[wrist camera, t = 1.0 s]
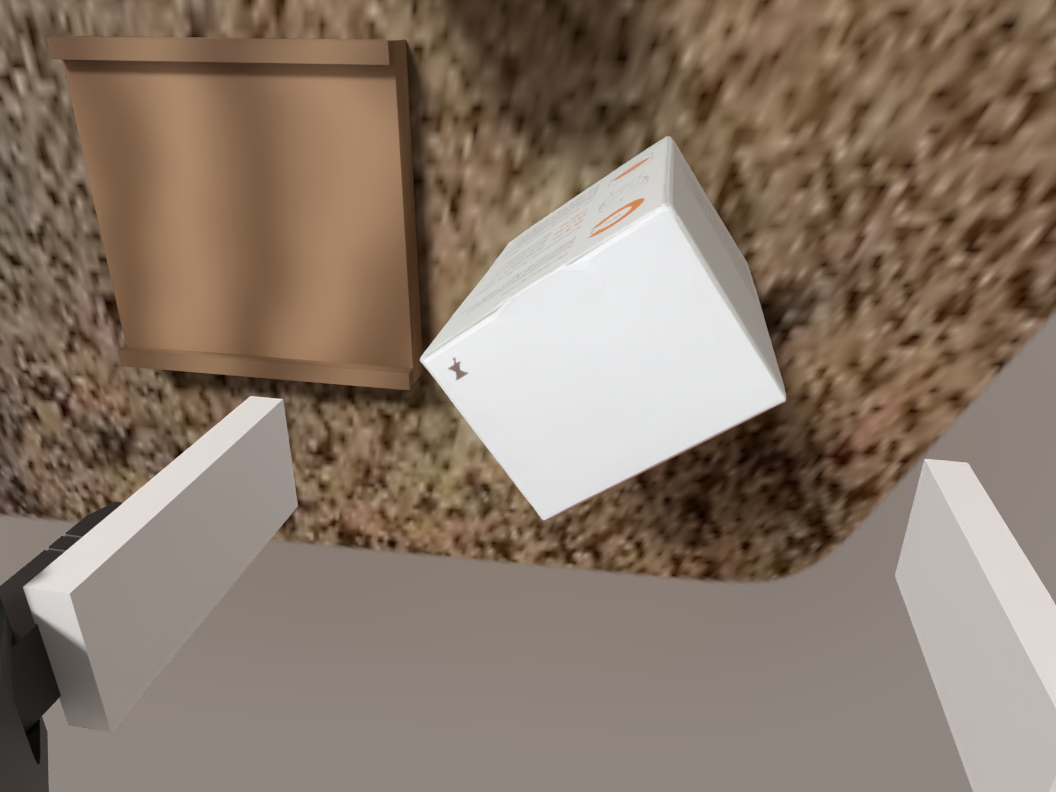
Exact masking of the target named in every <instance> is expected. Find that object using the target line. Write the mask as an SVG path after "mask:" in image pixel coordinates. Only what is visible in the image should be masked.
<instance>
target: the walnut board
mask: <svg viewBox="0 0 1056 792" xmlns="http://www.w3.org/2000/svg"><path fill="white" fill-rule="evenodd" d="M46 39H47V43H48V48H49V52H50V56H51V59H61V60H62V62H63V66H64V71H65V75H66V80H67V84H68V88H69V93H70V97H71V102H72V106H73V111H74V115H75V120H76V124H77V129H78V133H79V137H80V142H81V146H82V151H83V155H84V160H85V164H86V169H87V173H88V178H89V182H90V186H91V191H92V195H93V200H94V204H95V209H96V213H97V218H98V222H99V227H100V231H101V235H102V240H103V244H104V249H105V253H106V258H107V262H108V267H109V271H110V276H111V280H112V284H113V289H114V293H115V298H116V302H117V307H118V311H119V316H120V320H121V325H122V329H123V333H124V338H125V342H126V346H125V347H123V348H121V349H119V350H118V352H119V357H120V361H121V365H122V366H126V367H138V368H150V369H161V370H173V371H185V372H197V373H209V374H221V375H233V376H245V377H257V378H269V379H281V380H292V381H304V382H316V383H328V384H340V385H352V386H364V387H376V388H388V389H400V390H410V389H411V388H412V387H413V385H414V384H415V383H416V381H417V380H418V379H419V377H420V376H421V375H422V373H423V372H424V366H423V364H422V363H421V362H420V358H421V356H422V355H423V347H422V329H421V310H420V291H419V273H418V254H417V235H416V217H415V198H414V180H413V161H412V142H411V124H410V105H409V86H408V68H407V49H406V40H356V39H269V38H182V37H94V36H76V37H46Z"/></svg>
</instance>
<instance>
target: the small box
mask: <svg viewBox="0 0 1056 792" xmlns="http://www.w3.org/2000/svg"><path fill="white" fill-rule="evenodd" d="M420 362H421V363H422V364H423V365H424V367H425V368H426V369H427V370H428V371H429V373H430V374H431V375H432V376H433V378H434V379H435V380H436V381H437V383H438V384H439V385H440V386H441V388H442V389H443V390H444V392H445V393H446V394H447V396H448V397H449V398H450V400H451V401H452V402H453V404H454V405H455V406H456V408H457V409H458V410H459V412H460V413H461V414H462V416H463V417H464V418H465V420H466V421H467V422H468V423H469V425H470V426H471V427H472V429H473V430H474V431H475V433H476V434H477V435H478V437H479V438H480V439H481V441H482V442H483V443H484V444H485V446H486V447H487V448H488V450H489V451H490V452H491V453H492V455H493V456H494V457H495V459H496V460H497V461H498V463H499V464H500V465H501V466H502V468H503V469H504V470H505V471H506V473H507V474H508V475H509V477H510V478H511V479H512V481H513V482H514V483H515V485H516V486H517V487H518V489H519V490H520V491H521V493H522V494H523V495H524V496H525V498H526V499H527V500H528V501H529V503H530V504H531V505H532V506H533V508H534V509H535V510H536V512H537V513H538V515H539V516H540V517H541V519H542V520H544V521H546V520H550V519H552V518H554V517H556V516H558V515H560V514H562V513H564V512H566V511H568V510H570V509H572V508H574V507H576V506H578V505H580V504H581V503H583V502H585V501H587V500H589V499H591V498H594V497H596V496H598V495H600V494H602V493H604V492H606V491H608V490H610V489H612V488H614V487H616V486H618V485H620V484H622V483H624V482H626V481H628V480H630V479H632V478H634V477H636V476H638V475H639V474H641V473H643V472H645V471H647V470H650V469H652V468H654V467H656V466H658V465H660V464H662V463H664V462H666V461H668V460H670V459H672V458H674V457H676V456H678V455H680V454H682V453H684V452H686V451H688V450H690V449H692V448H694V447H696V446H698V445H700V444H702V443H704V442H706V441H708V440H710V439H712V438H714V437H716V436H718V435H720V434H722V433H724V432H726V431H728V430H730V429H732V428H734V427H736V426H738V425H740V424H742V423H744V422H746V421H748V420H750V419H752V418H754V417H756V416H758V415H760V414H762V413H764V412H766V411H768V410H770V409H772V408H774V407H776V406H778V405H780V404H783V403H785V402H786V392H785V388H784V384H783V380H782V377H781V374H780V370H779V367H778V364H777V360H776V357H775V353H774V350H773V347H772V343H771V339H770V336H769V333H768V330H767V326H766V323H765V319H764V315H763V312H762V309H761V305H760V302H759V298H758V295H757V291H756V288H755V285H754V282H753V279H752V276H751V272H750V269H749V266H748V264H747V262H746V260H745V258H744V257H743V255H742V253H741V252H740V250H739V248H738V247H737V245H736V243H735V242H734V240H733V238H732V237H731V235H730V233H729V232H728V230H727V228H726V227H725V225H724V223H723V222H722V220H721V218H720V217H719V215H718V213H717V212H716V210H715V208H714V207H713V205H712V203H711V202H710V200H709V198H708V197H707V195H706V193H705V192H704V190H703V188H702V187H701V185H700V183H699V182H698V180H697V178H696V177H695V175H694V173H693V172H692V170H691V168H690V167H689V165H688V163H687V162H686V160H685V158H684V156H683V155H682V153H681V151H680V150H679V148H678V146H677V145H676V143H675V141H674V140H673V139H672V138H671V137H670V136H666V137H665V138H663V139H661V140H660V141H658V142H657V143H655V144H654V145H652V146H651V147H649V148H648V149H646V150H644V151H643V152H641V153H640V154H638V155H637V156H635V157H634V158H632V159H631V160H629V161H628V162H626V163H625V164H623V165H622V166H620V167H619V168H617V169H616V170H614V171H613V172H611V173H610V174H608V175H607V176H605V177H604V178H602V179H601V180H599V181H598V182H597V183H595V184H594V185H592V186H591V187H589V188H588V189H586V190H585V191H583V192H582V193H580V194H579V195H577V196H576V197H574V198H573V199H571V200H570V201H568V202H567V203H566V204H564V205H563V206H561V207H560V208H558V209H557V210H555V211H554V212H552V213H551V214H549V215H548V216H546V217H545V218H543V219H542V220H540V221H539V222H537V223H536V224H535V225H533V226H532V227H530V228H529V229H527V230H526V231H524V232H523V233H522V234H520V235H519V236H518V237H516V238H515V239H513V240H512V241H511V242H509V243H508V244H507V246H506V248H505V249H504V250H503V251H502V253H501V254H500V255H499V257H498V258H497V259H496V261H495V262H494V264H493V265H492V266H491V268H490V269H489V271H488V272H487V273H486V274H485V276H484V277H483V278H482V280H481V281H480V282H479V283H478V285H477V286H476V287H475V288H474V290H473V291H472V292H471V293H470V294H469V296H468V297H467V298H466V299H465V300H464V302H463V303H462V304H461V306H460V307H459V308H458V309H457V311H456V312H455V313H454V314H453V316H452V317H451V318H450V320H449V321H448V322H447V324H446V325H445V326H444V327H443V329H442V330H441V331H440V333H439V334H438V335H437V336H436V338H435V339H434V340H433V342H432V343H431V344H430V346H429V347H428V348H427V349H426V351H425V352H424V353H423V355H422V356H421V358H420Z"/></svg>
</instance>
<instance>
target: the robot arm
mask: <svg viewBox="0 0 1056 792" xmlns="http://www.w3.org/2000/svg"><path fill="white" fill-rule="evenodd" d="M297 506H298V504H297V497H296V490H295V482H294V475H293V468H292V461H291V453H290V446H289V439H288V432H287V424H286V417H285V410H284V403H283V399H276V398H265V397H255V396H250V397H249V398H248V399H246V400H245V401H244V402H243V403H242V404H241V405H239V406H238V407H237V408H236V409H235V410H233V411H232V412H231V413H230V414H229V415H227V416H226V417H225V418H224V419H223V420H221V421H220V422H219V423H218V424H217V425H215V426H214V427H213V428H212V429H211V430H210V431H208V432H207V433H206V434H205V435H204V436H202V437H201V438H200V439H199V440H198V441H196V442H195V443H194V444H193V445H192V446H190V447H189V448H188V449H187V450H186V451H184V452H183V453H182V454H181V455H180V456H179V457H177V458H176V459H175V460H174V461H173V462H171V463H170V464H169V465H168V466H167V467H165V468H164V469H163V470H162V471H161V472H159V473H158V474H157V475H156V476H155V477H153V478H152V479H151V480H150V481H149V482H148V483H146V484H145V485H144V486H143V487H142V488H140V489H139V490H138V491H137V492H136V493H134V494H133V495H132V496H131V497H130V498H128V499H127V500H126V501H125V502H124V503H121V502H114V503H112V504H110V505H108V506H106V507H104V508H102V509H100V510H98V511H96V512H94V513H92V514H90V515H88V516H86V517H85V518H84V519H82V520H81V521H80V522H79V523H77V524H76V525H75V526H74V527H73V528H71V529H70V530H69V531H68V532H66V536H65V537H64V536H61V537H60V538H59V539H58V540H57V541H55V542H54V543H53V544H52V545H50V546H49V550H48V551H46V550H44V551H43V552H42V553H40V554H39V555H38V556H37V557H36V558H34V559H33V560H32V561H31V562H29V563H28V564H27V565H26V566H25V567H23V568H22V569H21V570H19V571H18V572H17V573H16V574H15V575H13V576H12V577H11V578H10V579H8V580H7V581H6V582H5V583H3V584H2V585H1V586H0V792H49V786H48V743H47V742H48V741H47V730H46V727H45V724H44V721H43V718H42V715H43V714H44V713H45V712H46V711H47V710H48V709H49V708H50V707H51V706H52V705H53V704H54V703H55V702H56V700H57V699H58V698H60V701H61V704H62V707H63V710H64V713H65V716H66V719H67V722H68V725H71V726H76V727H82V728H88V729H93V730H99V731H105V732H112V731H113V730H114V728H115V727H116V726H117V725H118V724H119V722H120V721H121V720H122V719H123V718H124V717H125V715H126V714H127V713H128V712H129V710H130V709H131V708H132V707H133V706H134V704H135V703H136V702H137V701H138V699H139V698H140V697H141V696H142V695H143V693H144V692H145V691H146V690H147V688H148V687H149V686H150V685H151V684H152V683H153V681H154V680H155V679H156V678H157V676H158V675H159V674H160V673H161V672H162V670H163V669H164V668H165V667H166V666H167V664H168V663H169V662H170V661H171V659H172V658H173V657H174V656H175V654H176V653H177V652H178V651H179V650H180V649H181V647H182V646H183V645H184V644H185V642H186V641H187V640H188V639H189V638H190V636H191V635H192V634H193V633H194V631H195V630H196V629H197V628H198V627H199V625H200V624H201V623H202V622H203V621H204V619H205V618H206V617H207V616H208V614H209V613H210V612H211V611H212V610H213V608H214V607H215V606H216V605H217V604H218V602H219V601H220V600H221V599H222V597H223V596H224V595H225V594H226V593H227V591H228V590H229V589H230V588H231V586H232V585H233V584H234V583H235V582H236V580H237V579H238V578H239V577H240V576H241V574H242V573H243V572H244V571H245V570H246V568H247V567H248V566H249V565H250V563H251V562H252V561H253V560H254V558H255V557H256V556H257V555H258V554H259V552H260V551H261V550H262V549H263V548H264V546H265V545H266V544H267V543H268V542H269V540H270V539H271V538H272V537H273V536H274V534H275V533H276V532H277V531H278V529H279V528H280V527H281V526H282V525H283V523H284V522H285V521H286V520H287V519H288V517H289V516H290V515H291V514H292V512H293V511H294V510H295V509H296V508H297ZM895 577H896V580H897V583H898V585H899V588H900V591H901V594H902V596H903V599H904V602H905V605H906V608H907V610H908V613H909V616H910V619H911V622H912V624H913V627H914V630H915V632H916V635H917V638H918V640H919V644H920V646H921V649H922V652H923V655H924V657H925V660H926V663H927V666H928V669H929V671H930V674H931V677H932V679H933V682H934V685H935V688H936V691H937V693H938V696H939V699H940V701H941V704H942V707H943V710H944V713H945V716H946V718H947V721H948V724H949V727H950V729H951V732H952V735H953V737H954V741H955V743H956V746H957V749H958V752H959V754H960V757H961V760H962V763H963V765H964V768H965V771H966V774H967V776H968V779H969V782H970V785H971V788H972V790H973V792H1056V605H1055V603H1054V601H1053V600H1052V598H1051V597H1050V595H1049V593H1048V592H1047V590H1046V588H1045V587H1044V585H1043V584H1042V582H1041V580H1040V579H1039V577H1038V576H1037V574H1036V572H1035V571H1034V569H1033V568H1032V566H1031V564H1030V563H1029V561H1028V559H1027V558H1026V556H1025V554H1024V553H1023V551H1022V550H1021V548H1020V547H1019V545H1018V543H1017V542H1016V540H1015V538H1014V537H1013V535H1012V534H1011V532H1010V530H1009V529H1008V527H1007V526H1006V524H1005V522H1004V521H1003V519H1002V517H1001V516H1000V514H999V513H998V511H997V509H996V508H995V506H994V505H993V503H992V501H991V500H990V498H989V496H988V495H987V493H986V492H985V490H984V488H983V487H982V485H981V483H980V482H979V481H978V479H977V477H976V475H975V474H974V472H973V471H972V469H971V467H970V466H969V464H968V463H964V462H953V461H942V460H932V459H924V463H923V467H922V471H921V475H920V479H919V483H918V487H917V491H916V494H915V499H914V502H913V507H912V510H911V514H910V518H909V523H908V526H907V530H906V534H905V538H904V542H903V546H902V550H901V554H900V558H899V562H898V566H897V570H896V574H895Z"/></svg>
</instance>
